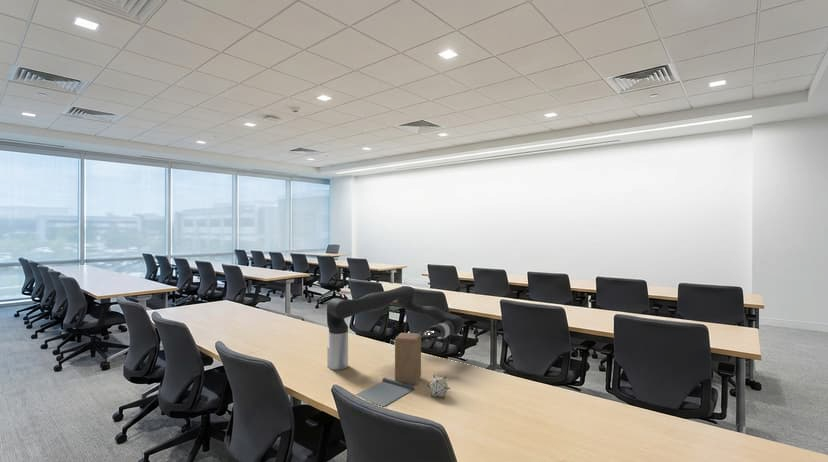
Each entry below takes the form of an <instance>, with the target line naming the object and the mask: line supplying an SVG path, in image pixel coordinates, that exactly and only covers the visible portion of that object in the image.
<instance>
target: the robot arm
mask: <svg viewBox="0 0 828 462" xmlns="http://www.w3.org/2000/svg"><path fill="white" fill-rule="evenodd" d="M415 297H416V290H415V288H414V287H412V286H409V285H405V286H404V285H402V286H399V287H397V288H393V289H389V290H384V291H379V292H378V291H377V292H371V293H367V294H365V295H364V296H362V297H360V298H357V299H343V298H339V297H334V298H331V299H330V300H329V302H328V303H327V305H326V323H327V328H328V346H327V367H328V368H329V369H331V370H335V371H337V370H338V371H339V370H344V369H347V368H348V367H349V326H348V324H347V323H346V321H345V319H346V318H350V317H353V316H355V315H359V314H363V313H370V312H376V311H380V310H384V309H385V308H386V307H388V306H389V305H391V304H392V303H394V302H395V303H396V304H397V305H398V306H400V307H401V308H403V309H405V310H408V311H410V312H413V313H416V314H419V315H422V316H423V317H426V318H427V319H428V318H429V319H430V320H431V321H434V322H435V323H437V324H434V325H432V326H430V327H429V329H428V330H426V331H422V330H419V332H418V334H420V335H421V343H422V342H425V341H426V342H427V341H429V342H438V341H441V340H443V339H445V338H447V337H449V336H454V337H455V336H457V335H459V334H460V333H461V329H462V328H463V325H464V324H465V321H464V318H462V317H461V316H460V315H457V314H453V313H450V312H446V311H444V310H443V309H441V308H438V307H436V306H435V305H434V306H433V305H418V304H417V303H414V299H415Z"/></svg>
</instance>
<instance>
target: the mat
mask: <svg viewBox="0 0 828 462" xmlns="http://www.w3.org/2000/svg"><path fill="white" fill-rule="evenodd" d="M414 390H415V385H412V384H405V383H402V382H398V381H395V379H391V378H387V377H383V378H382V381H380V382H378V383H376V384H374V385H372V386H369V387H368V388H365V389H364V390H362V391H360V392H358V393H355V395H357V396H359V397H361V398H363V399H365V400H367V401H369V402H372V403H375V404H377V405H376V406H378V405H380V406H379V407H381V406H383V407H382V408H385V407H387V406H389V405H391V404H392V403H394V402H396V401H397V400H399V399H401V398H402V397H404V396H405V395H407V394H409V393H411V392H413V391H414ZM369 402H368V403H369ZM372 403H371V404H372ZM375 404H374V405H375Z"/></svg>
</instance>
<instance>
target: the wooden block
mask: <svg viewBox="0 0 828 462" xmlns="http://www.w3.org/2000/svg"><path fill="white" fill-rule="evenodd" d="M421 377H422V342H421V335H420V334H419V333H412V332H410V333H409V332H400V333H399V334H398V335H397V336H396V337H395V339H394V381H398V382H402V383H405V384H409V385H412V386H415V385H418V383H419V381H420V378H421Z"/></svg>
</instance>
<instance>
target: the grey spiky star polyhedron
mask: <svg viewBox="0 0 828 462" xmlns="http://www.w3.org/2000/svg"><path fill="white" fill-rule="evenodd" d="M432 376H433V378H432V380H431V381H430V383H429V384H427V385H426V386H427V387H429V391H430V393H431V398H433V397H437V398H438V397H439V398H442V399H443V400H445V395H446V393H447V391H448V390H450V389H451V387H449V385H448V383H447V381H446V378H447V376H444V377H440V376H439V377H438V376H435V375H434V374H433V375H432Z"/></svg>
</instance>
